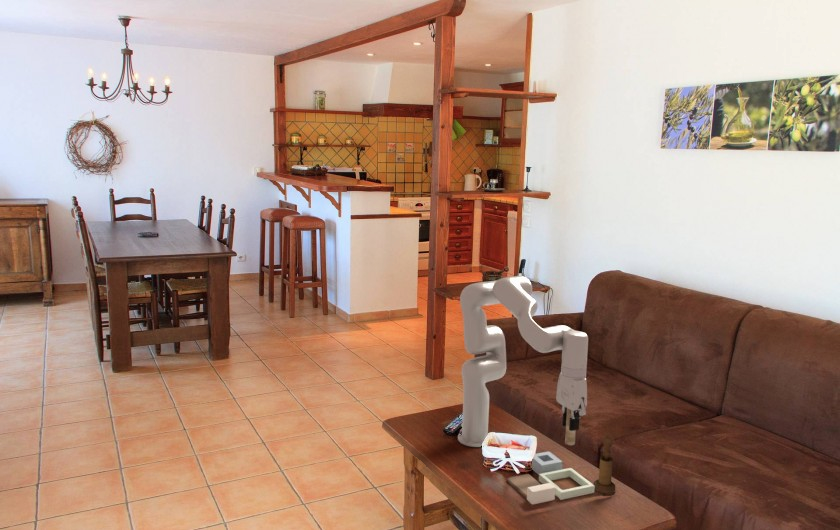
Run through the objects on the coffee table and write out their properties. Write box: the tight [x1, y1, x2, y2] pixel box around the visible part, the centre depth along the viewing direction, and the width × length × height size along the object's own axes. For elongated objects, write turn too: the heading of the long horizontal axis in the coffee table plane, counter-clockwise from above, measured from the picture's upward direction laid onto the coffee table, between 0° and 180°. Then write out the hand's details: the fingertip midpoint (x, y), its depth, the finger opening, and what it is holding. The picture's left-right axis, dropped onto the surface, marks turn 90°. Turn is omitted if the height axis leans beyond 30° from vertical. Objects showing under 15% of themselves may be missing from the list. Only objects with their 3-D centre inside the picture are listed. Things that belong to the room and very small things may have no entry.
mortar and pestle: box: [593, 436, 616, 497], centre depth 201 cm, size 7×6×18 cm
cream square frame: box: [538, 467, 595, 501], centre depth 202 cm, size 12×12×3 cm
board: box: [506, 473, 542, 500], centre depth 201 cm, size 12×8×2 cm, turn 23°
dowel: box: [564, 408, 577, 446], centre depth 199 cm, size 3×3×12 cm
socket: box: [531, 450, 564, 476], centre depth 213 cm, size 8×8×5 cm
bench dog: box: [526, 483, 556, 505], centre depth 194 cm, size 3×8×5 cm, turn 112°
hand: (570, 427), depth 199 cm, fingers closed on dowel, 2 cm apart
